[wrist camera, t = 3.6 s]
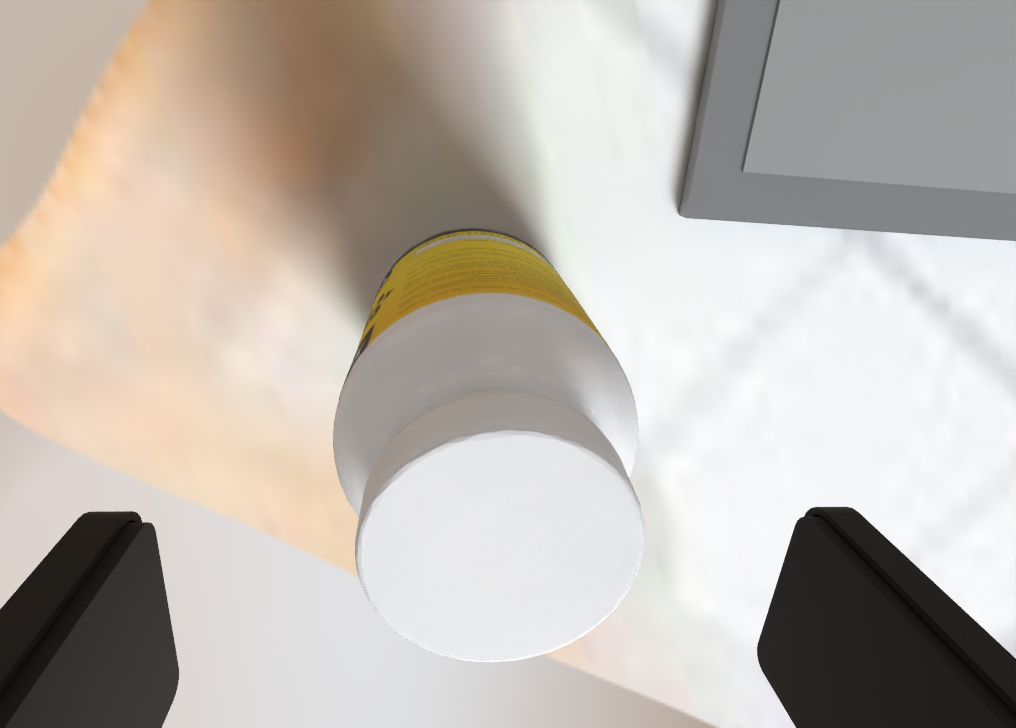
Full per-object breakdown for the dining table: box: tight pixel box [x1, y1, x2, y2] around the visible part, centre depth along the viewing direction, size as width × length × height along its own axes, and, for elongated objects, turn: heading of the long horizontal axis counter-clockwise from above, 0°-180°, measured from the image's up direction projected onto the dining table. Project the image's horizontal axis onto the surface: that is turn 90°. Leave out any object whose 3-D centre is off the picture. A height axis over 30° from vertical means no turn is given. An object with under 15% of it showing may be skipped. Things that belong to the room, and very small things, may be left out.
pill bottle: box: [333, 228, 645, 662], centre depth 15 cm, size 6×6×12 cm
